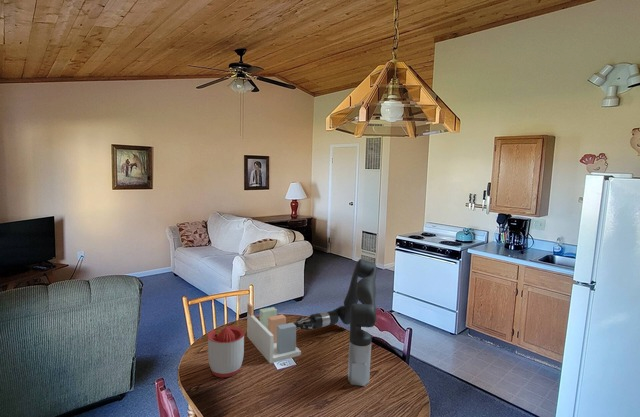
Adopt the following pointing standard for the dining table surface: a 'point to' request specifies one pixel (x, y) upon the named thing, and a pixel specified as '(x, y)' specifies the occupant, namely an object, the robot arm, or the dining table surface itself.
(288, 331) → the slate block
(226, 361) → the citrus juicer
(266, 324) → the sage block
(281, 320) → the terracotta block
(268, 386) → the dining table surface
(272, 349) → the rack
